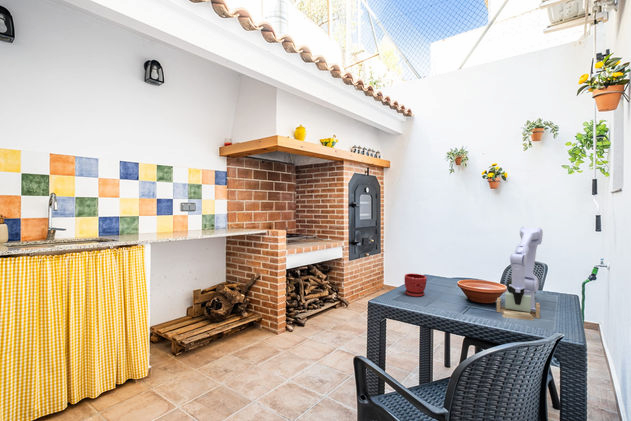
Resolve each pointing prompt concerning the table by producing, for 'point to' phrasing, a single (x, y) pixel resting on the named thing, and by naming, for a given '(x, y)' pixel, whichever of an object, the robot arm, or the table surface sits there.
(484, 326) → the table surface
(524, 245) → the robot arm
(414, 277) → the plant pot
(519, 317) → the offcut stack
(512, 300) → the green sheet
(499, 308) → the oak rack
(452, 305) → the table surface
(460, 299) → the table surface
